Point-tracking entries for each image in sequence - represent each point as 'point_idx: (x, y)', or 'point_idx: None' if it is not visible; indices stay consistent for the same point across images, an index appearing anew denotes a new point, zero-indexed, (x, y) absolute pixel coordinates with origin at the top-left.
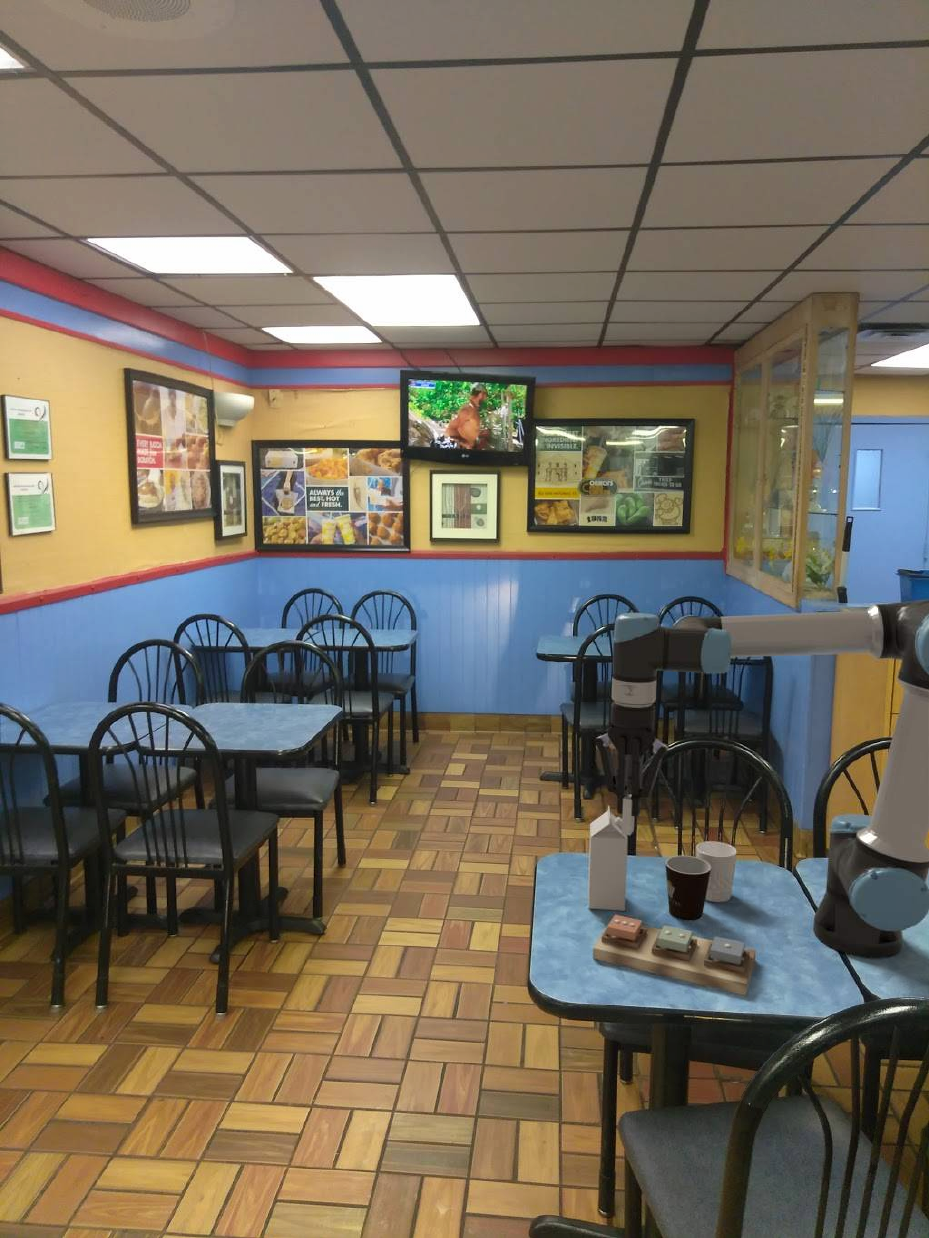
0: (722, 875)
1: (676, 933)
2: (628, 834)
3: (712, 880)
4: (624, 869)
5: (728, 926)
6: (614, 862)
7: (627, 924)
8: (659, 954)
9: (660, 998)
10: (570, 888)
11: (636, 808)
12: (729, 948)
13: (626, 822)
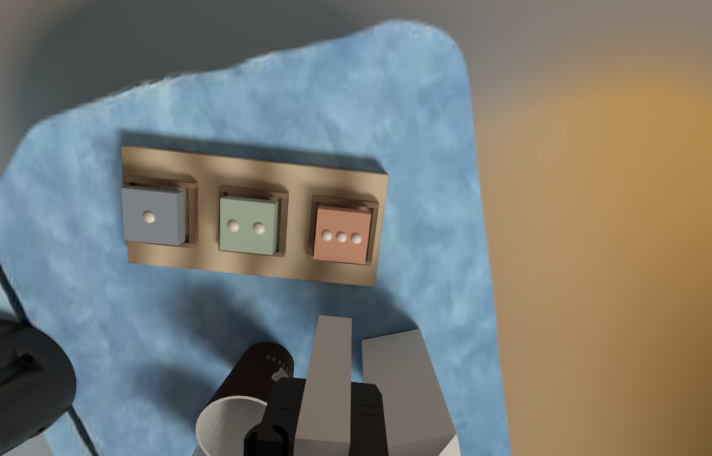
0: (200, 452)
1: (245, 232)
2: (324, 317)
3: None
4: None
5: (197, 345)
6: (389, 397)
7: (336, 235)
8: (274, 190)
9: (258, 86)
10: (459, 383)
11: (277, 409)
12: (145, 210)
13: (331, 346)
